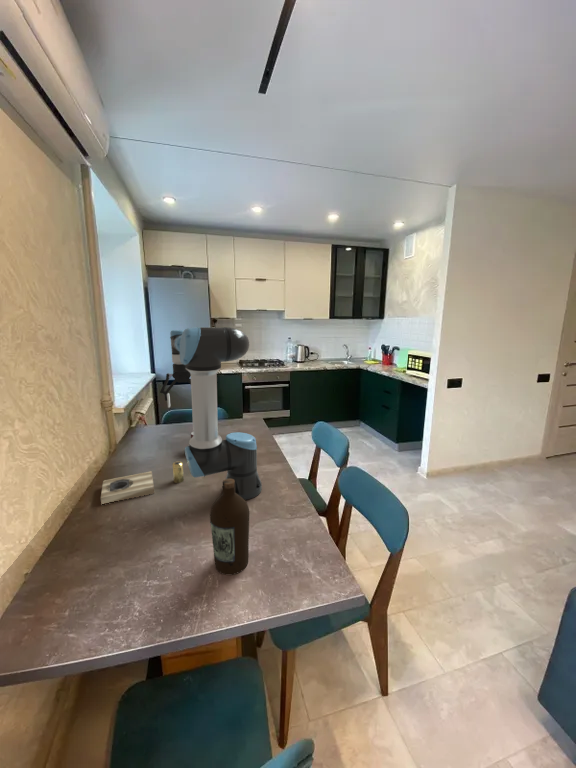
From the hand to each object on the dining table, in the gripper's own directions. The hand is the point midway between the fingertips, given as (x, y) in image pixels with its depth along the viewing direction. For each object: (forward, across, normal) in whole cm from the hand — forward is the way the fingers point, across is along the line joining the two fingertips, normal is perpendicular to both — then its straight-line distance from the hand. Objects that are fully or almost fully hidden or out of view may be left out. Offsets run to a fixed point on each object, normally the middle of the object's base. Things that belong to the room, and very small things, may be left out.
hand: (183, 406), depth 153 cm
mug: (+26, -6, -2) cm, 27 cm away
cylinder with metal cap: (+26, +1, +26) cm, 37 cm away
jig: (+26, +20, +30) cm, 44 cm away
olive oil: (+26, -18, +77) cm, 83 cm away
